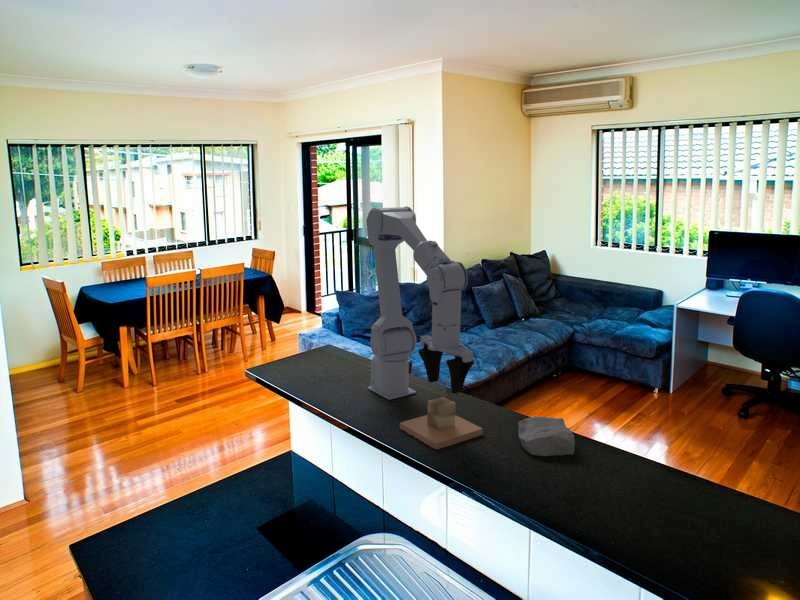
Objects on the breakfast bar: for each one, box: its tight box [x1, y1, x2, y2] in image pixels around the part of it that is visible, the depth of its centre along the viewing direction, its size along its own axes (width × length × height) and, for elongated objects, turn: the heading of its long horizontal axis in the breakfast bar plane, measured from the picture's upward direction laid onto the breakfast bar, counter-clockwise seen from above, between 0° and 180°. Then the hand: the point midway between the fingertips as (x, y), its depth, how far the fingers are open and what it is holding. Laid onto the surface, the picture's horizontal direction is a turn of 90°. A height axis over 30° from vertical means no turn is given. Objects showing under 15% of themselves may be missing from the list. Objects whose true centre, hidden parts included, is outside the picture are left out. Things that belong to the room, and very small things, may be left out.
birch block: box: [426, 396, 457, 430], centre depth 122 cm, size 4×4×5 cm
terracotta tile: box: [399, 414, 484, 450], centre depth 123 cm, size 12×12×2 cm
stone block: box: [517, 416, 576, 457], centre depth 118 cm, size 12×5×10 cm
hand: (444, 386), depth 124 cm, fingers open, 7 cm apart
